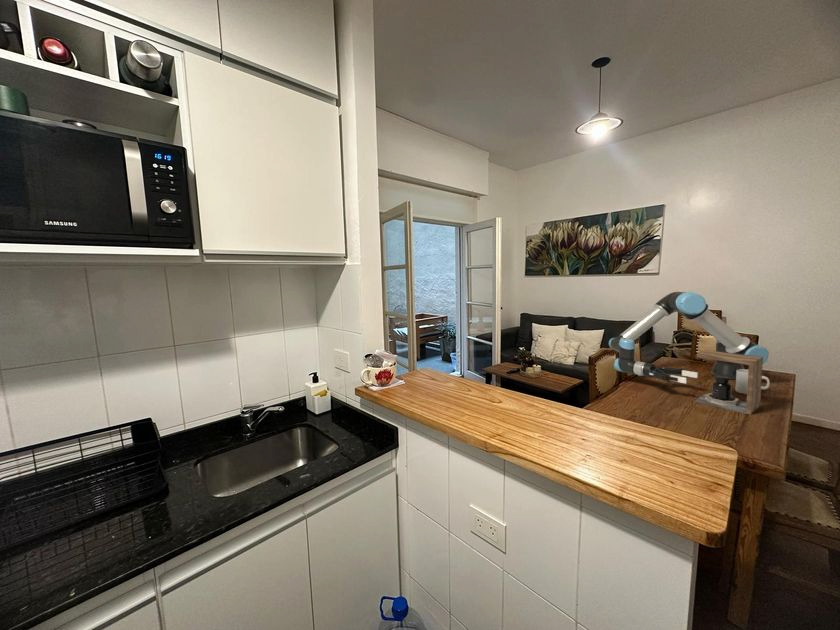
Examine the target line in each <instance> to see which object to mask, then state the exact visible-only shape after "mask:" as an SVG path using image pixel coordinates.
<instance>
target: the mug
mask: <svg viewBox="0 0 840 630" xmlns="http://www.w3.org/2000/svg"><path fill="white" fill-rule="evenodd" d="M748 370H749V369H745V368H744V369H738V370H737V372H736V379H735V392H737V393H739V394H742V393H743V394H744V395H747V388H748ZM762 380H764V381H765V380H766V385H765V386H763V385H761V391H762V390H768V389H769V387H770V384H771V382H770V379H769V378H768V377H767V376H765V375H762ZM743 394H742V395H743Z"/></svg>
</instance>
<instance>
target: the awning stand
mask: <svg viewBox="0 0 840 630" xmlns="http://www.w3.org/2000/svg"><path fill="white" fill-rule="evenodd" d="M696 358H697V359H698V358H699V359H704V360H711V361H716V360H718V361H725V362H733V363H740V364H743V365H745V364H747V365H749V366H748V369H747V370H748V388H747V394H746V401H741V400H740V399H739V398H737V397H735V396H734V395H732V401H723V400H718V399H713V398H712V392H710V393H709V392H708V393H705V394H703V395H701V396H700V397H698V398H696V399H695V400H694V402H695V403H697V404H698V403H699V404H702V405H703V404H704V405H708V406H712V407H717V408H721V409H725V410H728V411H732V412H737V413H741V414H746V415H753V414H754V413H755V412H756V411H758V410H759V409H760V408H761V397H762V396H761V395H762V389H761V386H762V382H763V381H762V380H763V379H762V376H763V365H764V364H763V357H759V356H751V355H742V354H734V353H726V352H717V351H716V350H708V349H707V350H705V351H702V352H700V353H697V354H696ZM747 365H746V366H747ZM753 412H754V413H753Z"/></svg>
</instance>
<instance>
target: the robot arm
mask: <svg viewBox="0 0 840 630" xmlns="http://www.w3.org/2000/svg"><path fill="white" fill-rule="evenodd" d="M673 313H679V314H680V315H682V316H683V317H684V318H685V319H686V320H688V321H690V320H691V321H694V322H695V323H696V324H698V326H700V327H701V328H703V329H704V330H705V331H706V332H707V333H708V334H709V335H711V336H712V337H713V338H714V339H716V341H715V351H717V352H726V353H734V354H742V355H751V356H759V357H763V365H764V364H765V363H766V362H767V361H768V359H769V356H770V354H769V350H768V349H767V348H766V347H764V346H762V345H759V344H756V343H755V341H754V342H753V341H752V340H751V338H749V337H747V336H742V335H740V334H739V333H738V332H737V331H735V330H734V329H733V328H732V327H730V325H728V324H727V323H725V322H724V320H722V319H721V318H719V317H718V316H717V315H715V314H714V313H713V312H712V311H711V310H710V309H709V305H708V304H707V302H706V299H705V298H704V297H703V296H702V295H701V294H699V293H696V292H693V291H691V292H689V291H688V292H687V291H672V292H671V293H668V294H666V295H665V296H663V297H662V298H660V300H658V301H657V302H656V303H655V304H654V305H653V307H652V308H651V309H650V310H649V311H648V312H646V313H645V314H644V315H643V316H641V317H640V318H639V319H638V320H636V321H635V322H634V323H633V324H631V325H630V326H629V327H628V328H627V329H625V330H624V331H623V332H622V333H620V334H619V335H618V336H617V337H612V338H610V339H609V341H608V346H609V347H610V348H611V349H612V350H613V351H616V352H617V353H618V355H619V357H617V358H616V359H615V360H614V363H613V368H614V370H616V371H618V372H621V373H627V374H633V375H637V376H638V377H640V376H643V377H647V378H656V379H659V380H661V381H665V382H667V383H670V381H671V382H677V383H681V384H685V385H686V384H687V380H688V378H687V377H689V378H694V379H698V377H699V372H696V371H692V370H691V371H689V370H684V368H675V367H673V368H672V367H664V366H659V367H656V365H655V364H654V363H648V362H643V361H638V360H637V361H636V360H635V351H636V350H635V349H636V345H635V340H636V339H638V338H640V336H642V335H643V334H645V332H647V331H648V330H650V329H652V327H653V326H654V325H656V324H657V323H658V322H660V321H661V320H662V319H663V318H665V317H669V316H670V315H672V314H673ZM744 365H746V366H748V367H749V365H747V364H740V363H733V362H725V361H718V360H715V362H714V364H713V367H712V368H711V370H710V374H711V376H713V377H715V376H726V377H729V380H736V372H737V370H738V369H745V367H744ZM678 375H679V376H678ZM680 375H681V376H680Z"/></svg>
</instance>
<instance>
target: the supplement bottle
mask: <svg viewBox="0 0 840 630" xmlns="http://www.w3.org/2000/svg"><path fill="white" fill-rule="evenodd" d="M714 377H715V378H714V381H713V382H712V385H711V386H712V387H711V389H712V390H711V393H712V398H713V399H718V400H723V401H732V396H733V395H732V393H733V385H732V383H730V379H729V377H726V376H714Z"/></svg>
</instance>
